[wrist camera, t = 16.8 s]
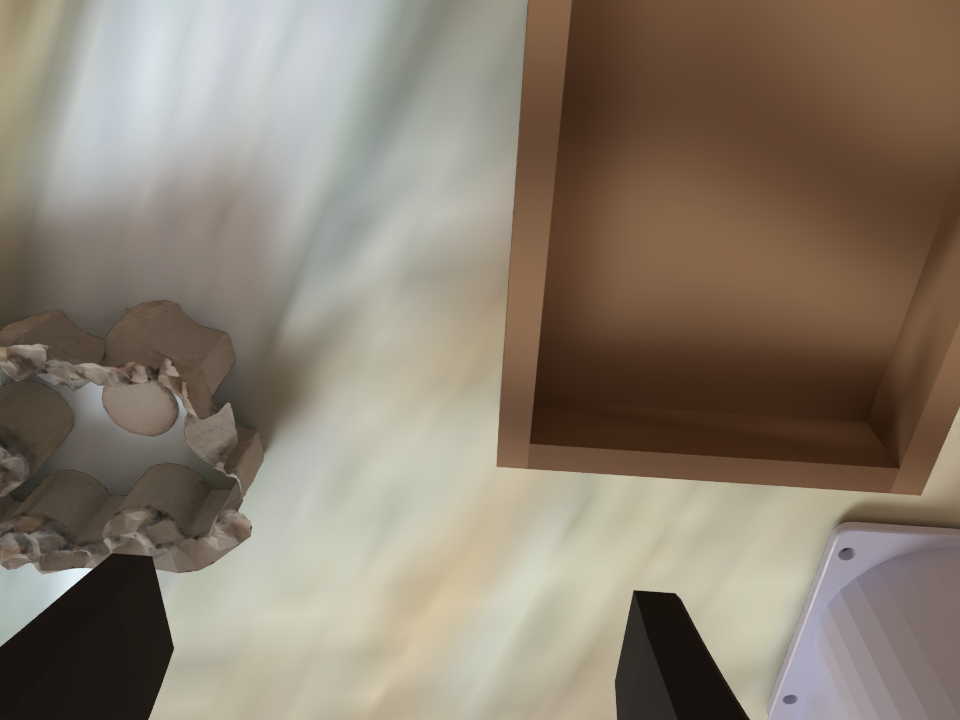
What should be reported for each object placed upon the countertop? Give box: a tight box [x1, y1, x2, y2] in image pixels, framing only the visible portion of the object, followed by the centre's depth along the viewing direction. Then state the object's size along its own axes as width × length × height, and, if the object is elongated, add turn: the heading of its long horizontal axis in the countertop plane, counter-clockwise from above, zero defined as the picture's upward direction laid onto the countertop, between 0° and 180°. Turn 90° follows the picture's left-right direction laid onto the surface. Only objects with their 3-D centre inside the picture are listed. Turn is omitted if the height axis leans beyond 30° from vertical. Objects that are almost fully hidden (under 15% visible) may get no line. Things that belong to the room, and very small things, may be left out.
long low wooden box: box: [497, 0, 960, 495], centre depth 16 cm, size 16×26×4 cm, turn 87°
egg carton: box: [0, 301, 264, 574], centre depth 21 cm, size 11×8×4 cm
